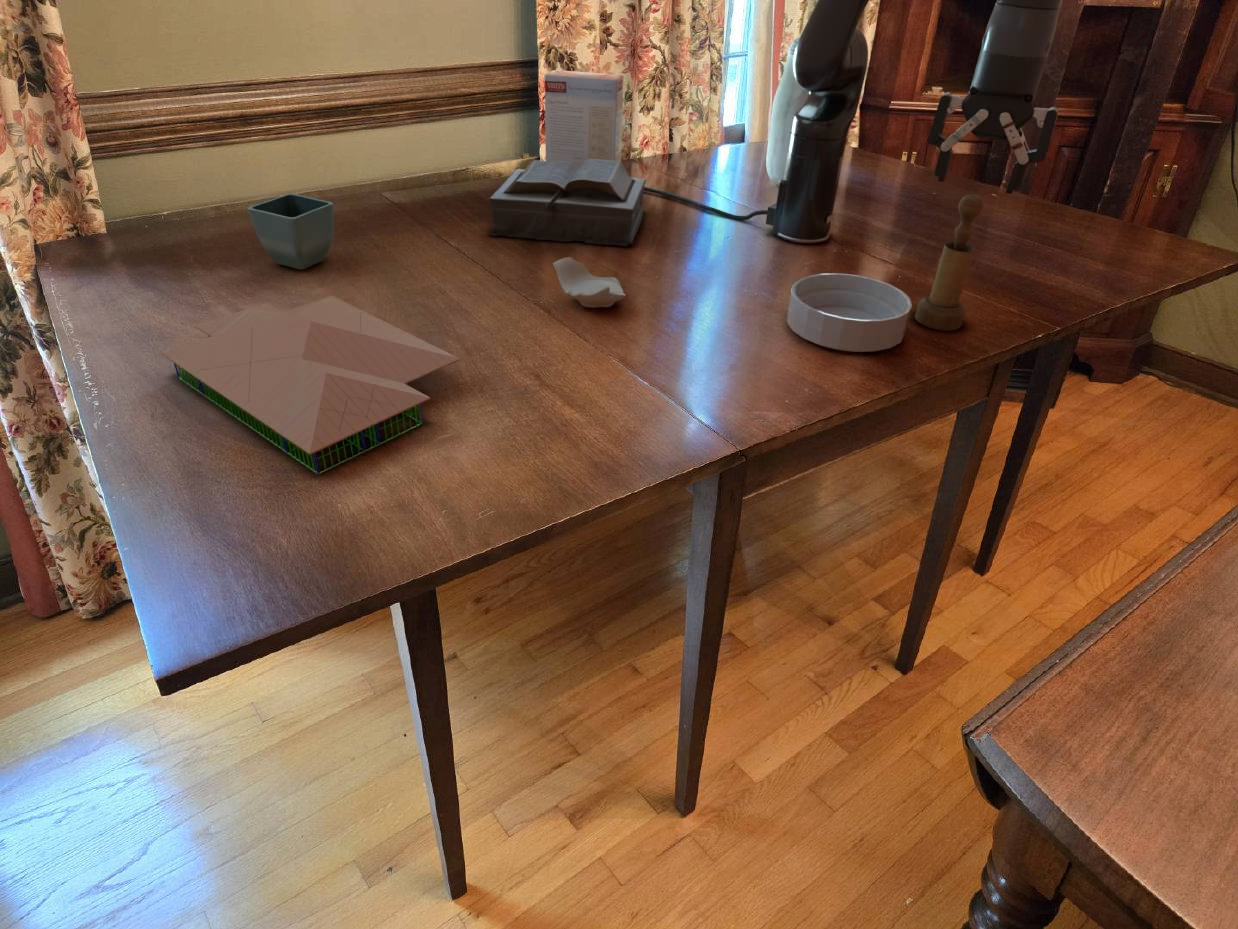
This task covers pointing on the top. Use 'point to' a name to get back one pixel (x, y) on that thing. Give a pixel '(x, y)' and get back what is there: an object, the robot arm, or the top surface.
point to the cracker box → (583, 116)
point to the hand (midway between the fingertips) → (974, 186)
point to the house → (310, 372)
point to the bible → (570, 203)
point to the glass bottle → (783, 118)
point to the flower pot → (294, 229)
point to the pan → (848, 312)
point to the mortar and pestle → (951, 274)
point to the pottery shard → (587, 284)
